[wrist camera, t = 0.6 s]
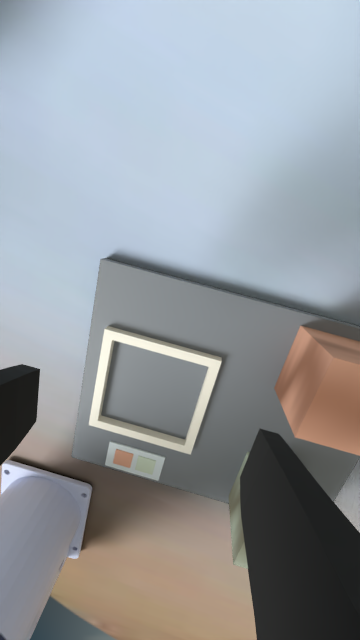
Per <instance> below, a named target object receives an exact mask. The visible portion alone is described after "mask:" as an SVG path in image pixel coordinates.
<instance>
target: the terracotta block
mask: <svg viewBox="0 0 360 640" xmlns="http://www.w3.org/2000/svg"><path fill="white" fill-rule="evenodd" d="M274 389H275V391H276V394H277V396H278V398H279V401H280V403H281V406H282V408H283V410H284V413H285V415H286V417H287V420H288V422H289V425H290V427H291V429H292V432H293V434H294V436H295V437H296V438H299V439H303V440H306V441H310V442H313V443H317V444H320V445H324V446H327V447H331V448H334V449H338V450H341V451H345V452H348V453H352V454H355V455H359V456H360V341H356V340H352V339H349V338H345V337H341V336H337V335H334V334H330V333H326V332H323V331H319V330H315V329H311V328H308V327H304V326H300V328H299V330H298V332H297V335H296V337H295V340H294V342H293V344H292V347H291V349H290V351H289V354H288V356H287V359H286V361H285V363H284V366H283V368H282V370H281V373H280V375H279V378H278V380H277V382H276V385H275V387H274Z"/></svg>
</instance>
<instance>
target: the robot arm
mask: <svg viewBox="0 0 360 640" xmlns="http://www.w3.org/2000/svg"><path fill="white" fill-rule="evenodd" d="M39 375H40V369H37V368H34V367H30V366H26V365H23V364H22V365H17V366H13V367H9V368H5V369H2V370H0V465H1V464H2V463H3V462H4V461H5V460H6V459H7V458H8V457H9V456H10V455H11V453H12V452H13V451H14V450H15V449H16V448H17V446H18V445H19V444H20V442H21V441H22V440H23V438H24V437H25V436H26V434H27V433H28V432H29V430H30V429H31V427H32V426H33V425H34V423H35V422H36V418H37V403H38V389H39ZM91 493H92V486H91V485H90V484H88V483H85V482H82V481H78V480H75V479H72V478H68V477H65V476H62V475H58V474H55V473H51V472H48V471H45V470H41V469H38V468H35V467H31V466H28V465H25V464H21V463H18V462H15V461H11V460H6V461H5V462H4V463H3V464H2V481H1V496H0V640H29V639H30V637H31V635H32V633H33V631H34V629H35V626H36V624H37V622H38V620H39V618H40V616H41V613H42V611H43V609H44V607H45V605H46V602H47V600H48V598H49V596H50V594H51V591H52V589H53V587H54V585H55V583H56V580H57V578H58V576H59V574H60V572H61V569H62V567H63V565H64V563H65V561H66V558H67V557H70V558H74V559H75V558H78V557H79V554H80V551H81V546H82V540H83V535H84V530H85V525H86V519H87V514H88V509H89V504H90V498H91ZM240 506H241V520H242V527H243V535H244V543H245V550H246V557H247V565H248V572H249V579H250V587H251V594H252V601H253V608H254V616H255V625H256V634H257V640H360V533H359V532H358V531H357V529H356V528H355V527H354V526H353V525H352V524H351V522H350V521H349V520H348V519H347V518H346V517H345V515H344V514H343V513H342V512H341V511H340V509H339V508H338V507H337V506H336V505H335V503H334V502H333V501H332V500H331V498H330V497H329V496H328V495H327V494H326V492H325V491H324V490H323V489H322V487H321V486H320V485H319V484H318V482H317V481H316V480H315V478H314V477H313V476H312V475H311V473H310V472H309V471H308V470H307V468H306V467H305V466H304V464H303V463H302V462H301V461H300V459H299V458H298V457H297V455H296V454H295V453H294V452H293V450H292V449H291V448H290V447H289V445H288V444H287V443H286V442H285V440H284V439H283V438H282V437H281V436H280V434H278V433H274V432H271V431H267V430H263V429H259V431H258V434H257V436H256V438H255V441H254V443H253V446H252V448H251V451H250V453H249V456H248V458H247V461H246V463H245V466H244V468H243V471H242V473H241V476H240Z"/></svg>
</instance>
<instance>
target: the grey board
mask: <svg viewBox="0 0 360 640" xmlns="http://www.w3.org/2000/svg"><path fill="white" fill-rule="evenodd" d="M300 326H304V327H308V328H311V329H315V330H319V331H323V332H326V333H330V334H334V335H337V336H341V337H345V338H349V339H352V340H356V341H360V326H357V325H353V324H349V323H346V322H342V321H338V320H334V319H331V318H327V317H323V316H320V315H316V314H312V313H308V312H305V311H301V310H297V309H293V308H290V307H286V306H282V305H279V304H275V303H271V302H267V301H264V300H260V299H256V298H252V297H249V296H245V295H241V294H237V293H234V292H230V291H226V290H223V289H219V288H215V287H211V286H208V285H204V284H200V283H196V282H193V281H189V280H185V279H182V278H178V277H174V276H170V275H167V274H163V273H159V272H155V271H152V270H148V269H144V268H141V267H137V266H133V265H129V264H126V263H122V262H118V261H114V260H111V259H107V258H103V259H101V260H100V266H99V273H98V280H97V287H96V294H95V300H94V307H93V314H92V321H91V327H90V334H89V341H88V348H87V355H86V361H85V368H84V375H83V382H82V389H81V395H80V402H79V409H78V416H77V423H76V429H75V436H74V443H73V450H72V457H73V458H76V459H80V460H83V461H86V462H90V463H93V464H97V465H100V466H103V467H107V468H110V469H113V470H117V471H120V472H124V473H127V474H130V475H134V476H137V477H140V478H144V479H147V480H151V481H154V482H157V483H161V484H164V485H167V486H171V487H174V488H178V489H181V490H184V491H188V492H191V493H194V494H198V495H201V496H205V497H208V498H211V499H215V500H218V501H221V502H225V503H228V504H229V494H230V491H231V489H232V487H233V484H234V482H235V480H236V477H237V475H238V472H239V470H240V468H241V465H242V463H243V461H244V458H245V456H246V453H247V452H250V451H251V448H252V446H253V443H254V441H255V438H256V436H257V434H258V431H259V429H263V430H267V431H271V432H274V433H278V434H280V436H281V437H282V438H283V439H284V440H285V442H286V443H287V444H288V445H289V447H290V448H291V449H292V450H293V452H294V453H295V454H296V455H297V457H298V458H299V459H300V461H301V462H302V463H303V464H304V466H305V467H306V468H307V469H308V470H309V472H310V473H311V475H312V476H313V477H314V478H315V480H316V481H317V482H318V484H319V485H320V486H321V487H322V489H323V490H324V491H325V492H326V494H327V495H328V496H329V497H330V498H331V500H332V501H334V500H335V498H336V496H337V495H338V493H339V491H340V490H341V488H342V486H343V485H344V483H345V481H346V480H347V478H348V476H349V475H350V473H351V471H352V470H353V468H354V466H355V465H356V463H357V461H358V460H359V458H360V456H359V455H355V454H352V453H348V452H345V451H341V450H338V449H334V448H331V447H327V446H324V445H320V444H317V443H313V442H310V441H306V440H303V439H299V438H296V437H295V436H294V434H293V432H292V429H291V427H290V425H289V422H288V420H287V417H286V415H285V413H284V410H283V408H282V406H281V403H280V401H279V398H278V396H277V394H276V391H275V389H274V387H275V385H276V382H277V380H278V378H279V375H280V373H281V370H282V368H283V366H284V363H285V361H286V359H287V356H288V354H289V351H290V349H291V347H292V344H293V342H294V340H295V337H296V335H297V332H298V330H299V328H300Z"/></svg>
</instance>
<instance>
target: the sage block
mask: <svg viewBox="0 0 360 640" xmlns="http://www.w3.org/2000/svg"><path fill="white" fill-rule="evenodd" d="M249 453H250V452H247V453H246V456H245V458H244V461H243V463H242V465H241V468H240V470H239V472H238V475H237V477H236V480H235V482H234V484H233V487H232V489H231V491H230V494H229V509H230V524H231V539H232V554H233V564H234V565H237V566H240V567H244V568H247V569H248V565H247V557H246V550H245V543H244V535H243V527H242V520H241V506H240V476H241V473H242V471H243V468H244V466H245V463H246V461H247V458H248V456H249ZM307 470H308V469H307ZM308 471H309V470H308Z"/></svg>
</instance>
